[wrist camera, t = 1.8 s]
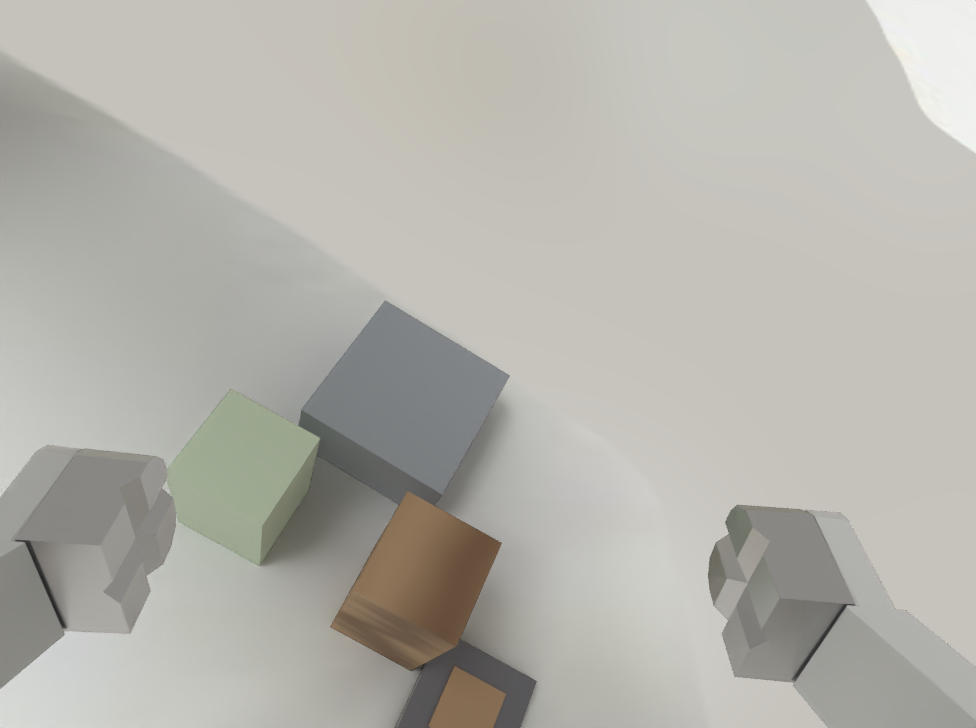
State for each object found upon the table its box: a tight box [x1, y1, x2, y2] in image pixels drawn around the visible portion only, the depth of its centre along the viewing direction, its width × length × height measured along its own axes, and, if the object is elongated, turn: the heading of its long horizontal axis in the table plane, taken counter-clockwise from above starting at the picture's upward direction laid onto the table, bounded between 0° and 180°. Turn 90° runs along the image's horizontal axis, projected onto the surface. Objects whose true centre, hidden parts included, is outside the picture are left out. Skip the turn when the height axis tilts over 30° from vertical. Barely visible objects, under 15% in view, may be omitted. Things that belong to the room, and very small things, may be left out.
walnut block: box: [330, 491, 502, 671], centre depth 35 cm, size 5×5×10 cm
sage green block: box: [167, 389, 320, 566], centre depth 36 cm, size 5×5×8 cm
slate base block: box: [299, 301, 509, 505], centre depth 43 cm, size 9×9×5 cm
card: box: [395, 639, 537, 728], centre depth 37 cm, size 6×6×1 cm
